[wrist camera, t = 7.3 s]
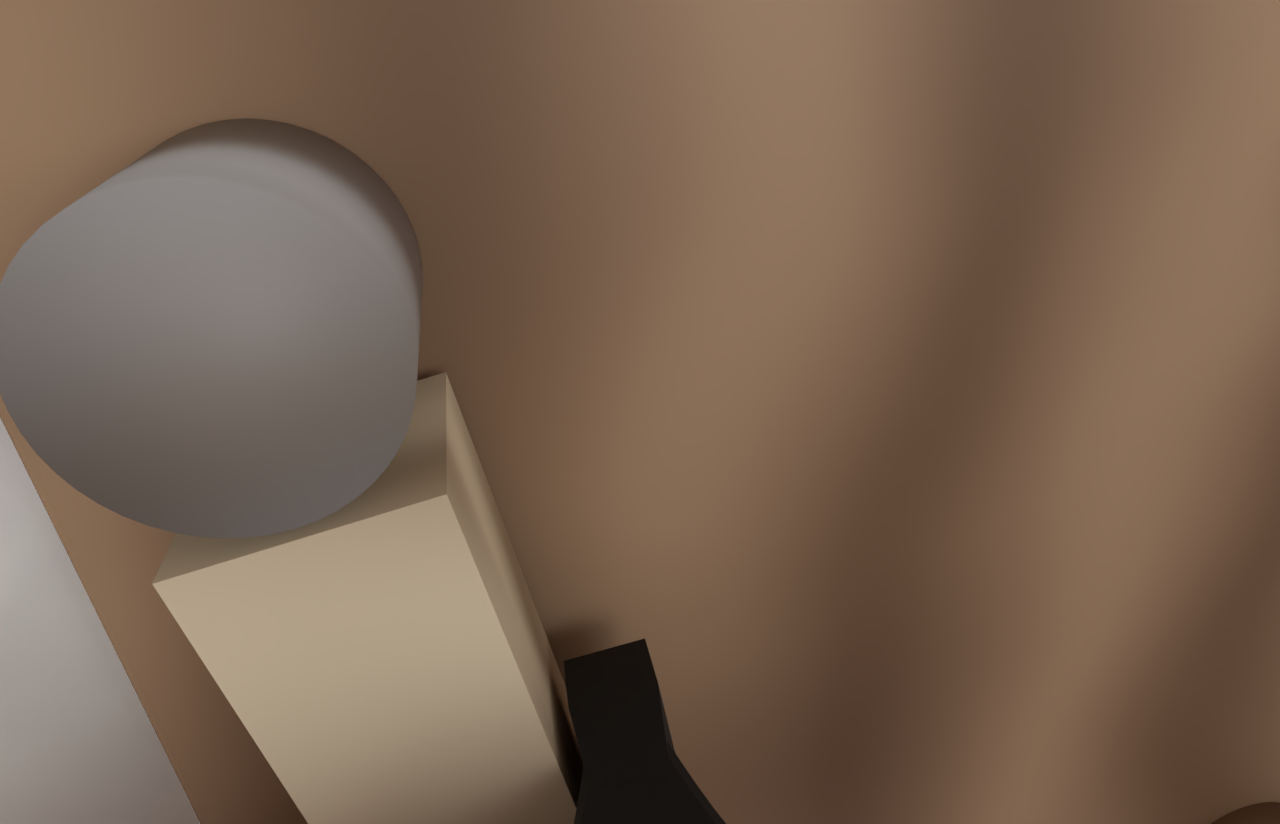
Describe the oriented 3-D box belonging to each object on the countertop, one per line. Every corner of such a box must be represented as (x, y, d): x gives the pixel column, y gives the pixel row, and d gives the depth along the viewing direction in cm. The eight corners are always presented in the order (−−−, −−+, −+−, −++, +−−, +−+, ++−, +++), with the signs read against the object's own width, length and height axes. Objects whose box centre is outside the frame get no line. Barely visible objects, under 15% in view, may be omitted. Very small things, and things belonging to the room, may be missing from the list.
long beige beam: (43, 168, 8) (-105, 248, 6) (359, 80, 8) (330, 127, 6) (476, 938, 13) (481, 1120, 11) (653, 879, 14) (691, 1046, 12)
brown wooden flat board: (1672, -226, 11) (2258, -311, 7) (1274, 846, 20) (1446, 1032, 17) (-124, -49, 8) (-536, -48, 5) (378, 1082, 18) (362, 1360, 14)
